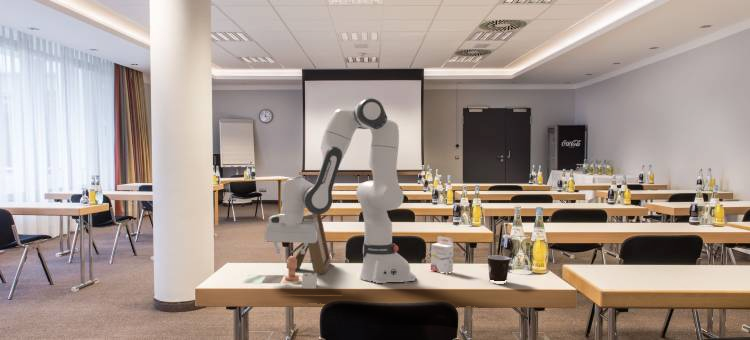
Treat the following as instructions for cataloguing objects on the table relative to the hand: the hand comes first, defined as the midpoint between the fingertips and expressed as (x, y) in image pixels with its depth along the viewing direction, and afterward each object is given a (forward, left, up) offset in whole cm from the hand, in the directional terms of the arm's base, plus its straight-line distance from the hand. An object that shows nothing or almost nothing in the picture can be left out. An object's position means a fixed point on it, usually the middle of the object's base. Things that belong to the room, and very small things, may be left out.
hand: (290, 253), depth 195 cm
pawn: (-1, 0, -10) cm, 10 cm away
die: (-8, +10, -11) cm, 17 cm away
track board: (+7, 0, -11) cm, 12 cm away
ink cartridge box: (-62, -16, -11) cm, 65 cm away
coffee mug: (-81, +2, -11) cm, 82 cm away
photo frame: (-6, -19, -11) cm, 23 cm away
